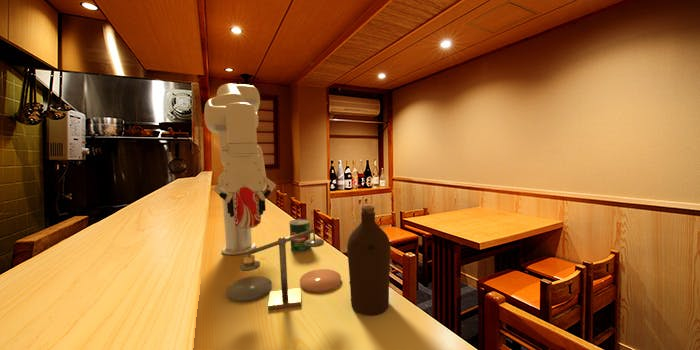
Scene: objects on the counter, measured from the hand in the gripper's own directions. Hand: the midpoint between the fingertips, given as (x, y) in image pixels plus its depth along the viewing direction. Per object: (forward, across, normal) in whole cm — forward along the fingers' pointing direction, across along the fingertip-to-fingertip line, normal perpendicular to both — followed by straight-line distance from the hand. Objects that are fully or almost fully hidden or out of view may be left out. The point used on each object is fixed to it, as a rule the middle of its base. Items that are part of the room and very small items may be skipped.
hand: (247, 214), depth 78 cm
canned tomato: (+22, +15, +28) cm, 39 cm away
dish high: (+22, +19, -1) cm, 29 cm away
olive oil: (+22, +30, -16) cm, 41 cm away
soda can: (+4, 0, 0) cm, 4 cm away
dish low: (+22, -1, 0) cm, 22 cm away
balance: (+22, +9, -9) cm, 25 cm away
